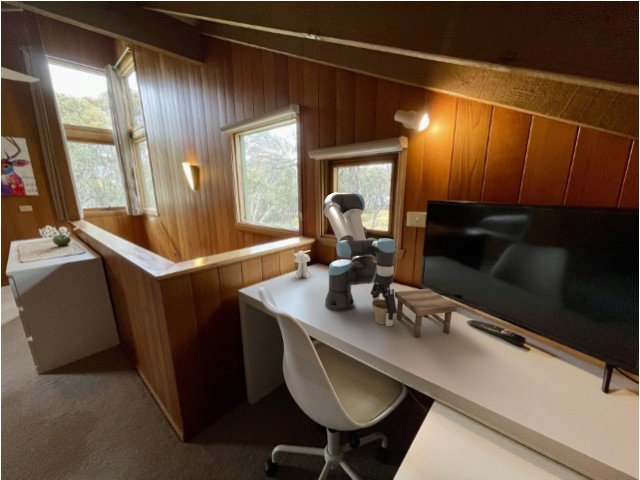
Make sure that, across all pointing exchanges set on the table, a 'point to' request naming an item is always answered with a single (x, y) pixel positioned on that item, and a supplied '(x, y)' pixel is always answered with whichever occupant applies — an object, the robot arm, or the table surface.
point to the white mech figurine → (302, 264)
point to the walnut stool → (424, 308)
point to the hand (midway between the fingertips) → (381, 317)
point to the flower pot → (380, 311)
